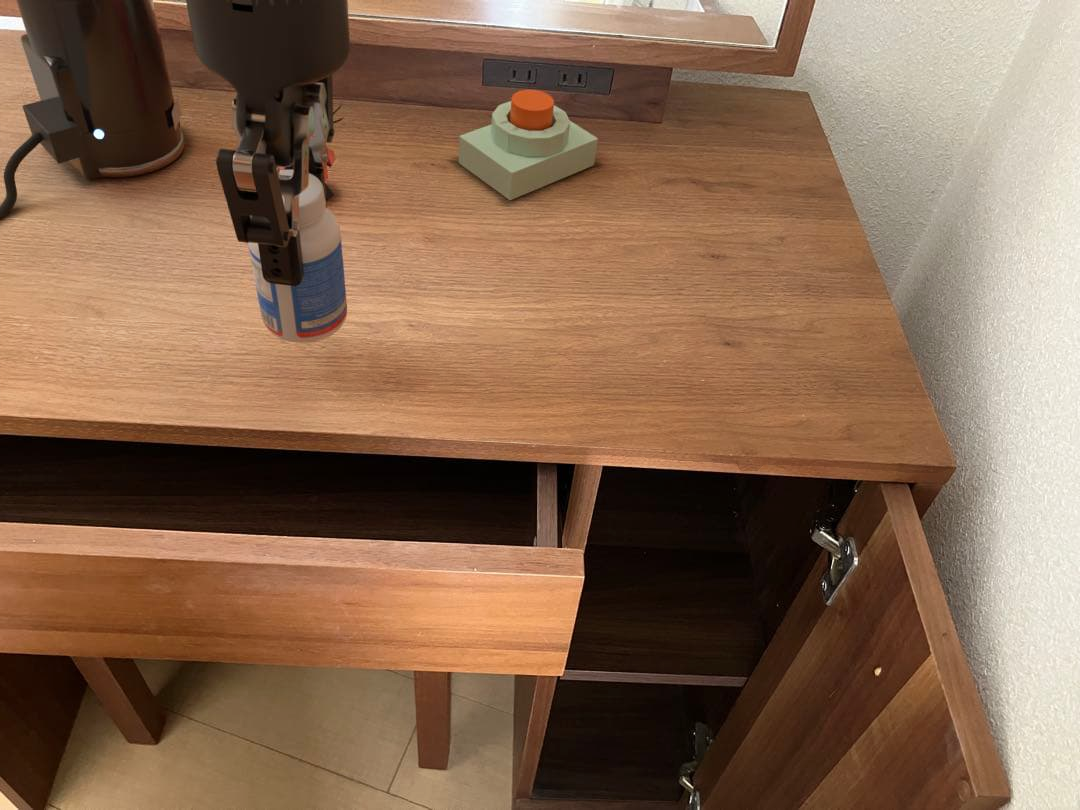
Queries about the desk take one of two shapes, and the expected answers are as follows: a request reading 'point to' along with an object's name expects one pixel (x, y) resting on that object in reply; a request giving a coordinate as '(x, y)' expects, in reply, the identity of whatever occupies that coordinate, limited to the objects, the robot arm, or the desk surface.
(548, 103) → the orange cylinder plug
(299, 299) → the pill bottle
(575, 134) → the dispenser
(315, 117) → the robot arm
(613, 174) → the desk surface
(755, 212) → the desk surface
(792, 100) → the desk surface
